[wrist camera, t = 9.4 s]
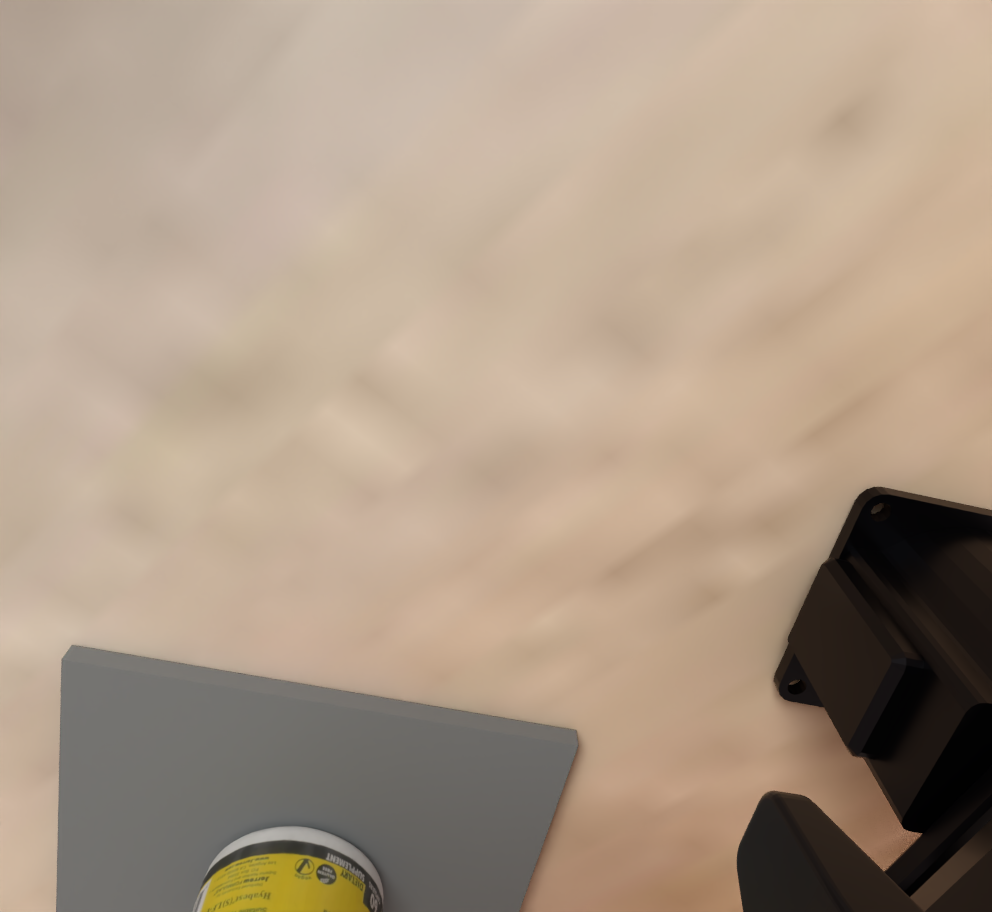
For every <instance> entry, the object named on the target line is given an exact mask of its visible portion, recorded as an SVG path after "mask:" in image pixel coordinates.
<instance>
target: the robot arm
mask: <svg viewBox="0 0 992 912" xmlns="http://www.w3.org/2000/svg"><path fill="white" fill-rule="evenodd" d="M880 503H884V507H883V508H882V509H881V510H880V511H879V512H877V513H873V514H871V510H872V509H873V507H874V506H876V505H878V504H880ZM788 642H789V645H788V647H787V649H786V651H785V654H784V656H783V658H782V660H781V662H780V664H779V667H778V669H777V671H776V673H775V676H774V683H775V686H776V688H777V690H778V692H779V694H780V695H781V696H782V697H783V698H784V699H785V700H788V701H791V702H797V703H802V704H808V705H814V706H819V707H824V708H825V709H826V711H827V713H828V715H829V717H830V719H831V720H832V722H833V724H834V726H835V728H836V729H837V731H838V733H839V735H840V737H841V738H842V740H843V742H844V744H845V746H846V747H847V749H848V751H849V752H850V754H851V755H852V756H855V757H860V758H864V759H865V761H866V763H867V765H868V767H869V768H870V770H871V772H872V774H873V775H874V777H875V779H876V781H877V782H878V784H879V786H880V788H881V789H882V791H883V793H884V795H885V796H886V798H887V800H888V802H889V803H890V805H891V807H892V809H893V811H894V812H895V814H896V816H897V818H898V819H899V821H900V823H901V825H902V826H903V828H904V829H906V830H908V831H911V832H917V833H923V834H922V835H921V836H920V837H919V838H918V839H917V840H916V841H915V842H914V843H913V844H912V845H911V846H910V847H909V848H908V849H906V850H905V851H904V852H903V853H902V854H901V855H900V856H899V857H898V858H897V859H896V860H895V861H894V862H893V863H892V864H891V865H890V866H889V867H888V868H887V869H886V870H885V871H883V870H882V869H881V868H880V867H879V866H878V865H877V864H876V863H875V862H874V861H873V860H872V859H871V858H870V857H868V856H867V855H866V854H865V853H864V852H863V851H862V850H861V849H860V848H859V847H858V846H857V845H856V844H855V843H854V842H853V841H852V840H851V839H850V838H849V837H848V836H847V835H846V834H845V833H844V832H843V831H842V830H841V829H840V828H839V827H838V826H837V825H836V824H835V823H834V822H833V821H832V820H831V819H830V818H829V817H828V816H827V815H826V814H825V813H824V812H823V811H822V810H821V809H820V808H819V807H818V806H817V805H816V804H815V803H814V802H812V801H811V800H810V799H809V798H807V797H805V796H802V795H798V794H791V793H785V792H778V791H770V792H767V793H766V794H764V795H763V796H762V798H761V800H760V801H759V803H758V805H757V808H756V810H755V812H754V814H753V816H752V818H751V821H750V823H749V825H748V827H747V829H746V831H745V833H744V836H743V838H742V840H741V842H740V845H739V849H738V853H737V872H738V879H739V886H740V892H741V899H742V906H743V912H992V510H988V509H983V508H979V507H974V506H969V505H964V504H960V503H955V502H950V501H946V500H941V499H936V498H931V497H927V496H922V495H917V494H912V493H908V492H903V491H898V490H894V489H889V488H884V487H873V488H870V489H866V490H865V491H864V492H862V493H861V494H860V495H859V496H858V498H857V499H856V500H855V502H854V505H853V507H852V509H851V511H850V513H849V515H848V518H847V520H846V522H845V524H844V526H843V528H842V530H841V533H840V535H839V537H838V539H837V541H836V543H835V546H834V548H833V550H832V552H831V554H830V556H829V559H828V560H826V561H825V562H824V563H823V564H822V565H821V567H820V569H819V571H818V574H817V576H816V578H815V580H814V582H813V584H812V587H811V589H810V591H809V593H808V595H807V597H806V600H805V602H804V604H803V606H802V608H801V610H800V613H799V615H798V617H797V619H796V621H795V623H794V626H793V628H792V630H791V632H790V634H789V637H788ZM794 680H799V682H798V683H796V684H793V685H789V684H790V683H791V682H792V681H794Z"/></svg>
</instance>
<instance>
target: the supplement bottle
mask: <svg viewBox="0 0 992 912" xmlns="http://www.w3.org/2000/svg"><path fill="white" fill-rule="evenodd" d="M192 912H383V887H382V883H381V880H380V877H379V874H378V872H377V871H376V869H375V867H374V866H373V864H372V863H371V861H370V860H369V859H368V858H367V857H366V856H365V855H364V854H363V853H362V852H361V851H360V850H359V849H357V848H356V847H355V846H353V845H352V844H350V843H349V842H347V841H345V840H344V839H342V838H340V837H337V836H335V835H333V834H330V833H327V832H324V831H321V830H318V829H313V828H308V827H300V826H282V827H274V828H268V829H263V830H259V831H256V832H252V833H250V834H247V835H245V836H243V837H241V838H239V839H237V840H236V841H234V842H232V843H231V844H229V845H228V846H227V847H225V848H224V849H223V850H222V851H221V852H220V853H219V854H218V855H217V856H216V858H215V859H214V860H213V862H212V863H211V865H210V867H209V869H208V871H207V873H206V876H205V878H204V880H203V883H202V885H201V888H200V892H199V894H198V897H197V900H196V902H195V905H194V908H193V911H192Z"/></svg>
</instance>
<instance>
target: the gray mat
mask: <svg viewBox="0 0 992 912" xmlns="http://www.w3.org/2000/svg"><path fill="white" fill-rule="evenodd" d="M577 748H578V740H577V733H576V730H571V729H565V728H559V727H553V726H547V725H542V724H536V723H530V722H524V721H518V720H512V719H506V718H500V717H494V716H488V715H482V714H476V713H471V712H465V711H459V710H453V709H447V708H441V707H435V706H429V705H423V704H417V703H411V702H406V701H400V700H394V699H388V698H382V697H376V696H370V695H364V694H358V693H352V692H346V691H340V690H335V689H329V688H323V687H317V686H311V685H305V684H299V683H293V682H287V681H281V680H275V679H269V678H264V677H258V676H252V675H246V674H240V673H234V672H228V671H222V670H216V669H210V668H204V667H198V666H193V665H187V664H181V663H175V662H169V661H163V660H157V659H151V658H145V657H139V656H133V655H127V654H122V653H116V652H110V651H104V650H98V649H92V648H86V647H80V646H74V645H72V646H71V647H70V649H69V650H68V651H67V653H66V654H65V656H64V657H63V658H62V667H61V713H60V760H59V806H58V852H57V899H56V912H192V911H193V908H194V905H195V902H196V900H197V897H198V894H199V892H200V888H201V885H202V883H203V880H204V878H205V876H206V873H207V871H208V869H209V867H210V865H211V863H212V862H213V860H214V859H215V858H216V856H217V855H218V854H219V853H220V852H221V851H222V850H223V849H224V848H225V847H227V846H228V845H229V844H231V843H232V842H234V841H236V840H237V839H239V838H241V837H243V836H245V835H247V834H250V833H252V832H256V831H259V830H263V829H268V828H274V827H282V826H300V827H308V828H313V829H318V830H321V831H324V832H327V833H330V834H333V835H335V836H337V837H340V838H342V839H344V840H345V841H347V842H349V843H350V844H352V845H353V846H355V847H356V848H357V849H359V850H360V851H361V852H362V853H363V854H364V855H365V856H366V857H367V858H368V859H369V860H370V861H371V863H372V864H373V866H374V867H375V869H376V871H377V872H378V874H379V877H380V880H381V883H382V887H383V912H519V911H520V908H521V905H522V902H523V899H524V897H525V894H526V891H527V888H528V885H529V883H530V880H531V877H532V874H533V871H534V869H535V866H536V863H537V860H538V857H539V855H540V852H541V849H542V846H543V843H544V841H545V838H546V835H547V832H548V829H549V827H550V824H551V821H552V818H553V815H554V813H555V810H556V807H557V804H558V801H559V799H560V796H561V793H562V790H563V787H564V785H565V782H566V779H567V776H568V773H569V771H570V768H571V765H572V762H573V759H574V757H575V754H576V751H577Z"/></svg>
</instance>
